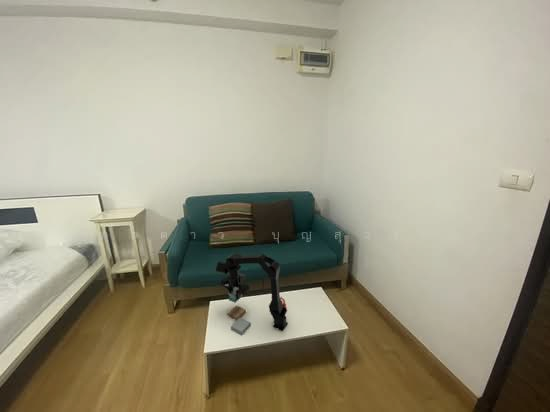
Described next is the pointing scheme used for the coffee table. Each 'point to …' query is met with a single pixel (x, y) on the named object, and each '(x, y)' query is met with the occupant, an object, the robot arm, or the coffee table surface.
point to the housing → (233, 295)
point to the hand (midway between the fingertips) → (235, 297)
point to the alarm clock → (282, 302)
